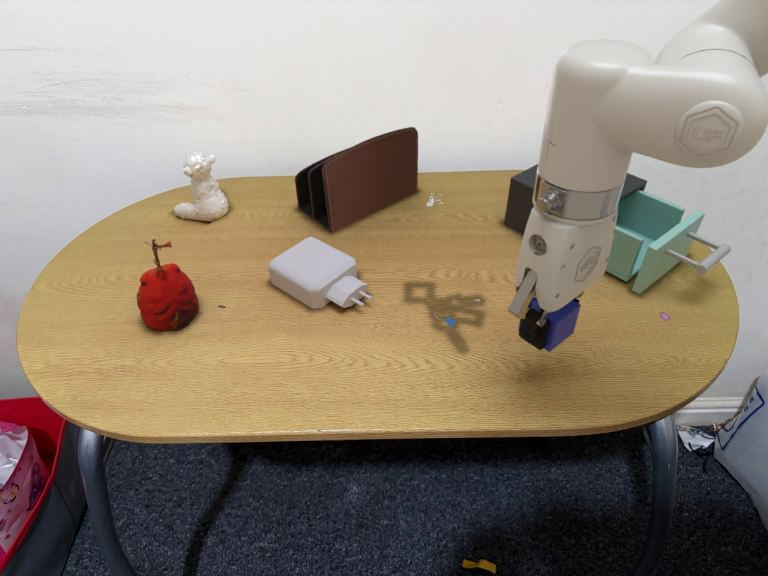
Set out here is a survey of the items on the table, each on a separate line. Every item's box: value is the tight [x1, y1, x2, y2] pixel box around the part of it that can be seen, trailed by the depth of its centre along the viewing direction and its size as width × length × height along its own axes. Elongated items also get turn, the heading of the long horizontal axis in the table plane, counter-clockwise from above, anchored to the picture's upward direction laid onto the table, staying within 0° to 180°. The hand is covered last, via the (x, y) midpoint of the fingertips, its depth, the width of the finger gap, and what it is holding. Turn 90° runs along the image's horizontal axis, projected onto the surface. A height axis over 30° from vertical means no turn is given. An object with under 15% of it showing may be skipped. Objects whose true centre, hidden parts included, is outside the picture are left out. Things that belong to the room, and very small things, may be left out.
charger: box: [267, 236, 373, 310], centre depth 77 cm, size 5×9×15 cm
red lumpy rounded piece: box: [136, 238, 200, 332], centre depth 70 cm, size 8×7×15 cm
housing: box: [503, 163, 648, 236], centre depth 86 cm, size 15×15×10 cm
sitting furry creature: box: [173, 151, 230, 223], centre depth 91 cm, size 10×9×12 cm
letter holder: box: [294, 126, 419, 234], centre depth 92 cm, size 10×20×14 cm, turn 131°
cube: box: [517, 300, 582, 353], centre depth 59 cm, size 4×4×4 cm
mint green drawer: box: [605, 190, 732, 295], centre depth 78 cm, size 19×13×8 cm
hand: (546, 330), depth 60 cm, fingers closed on cube, 4 cm apart
